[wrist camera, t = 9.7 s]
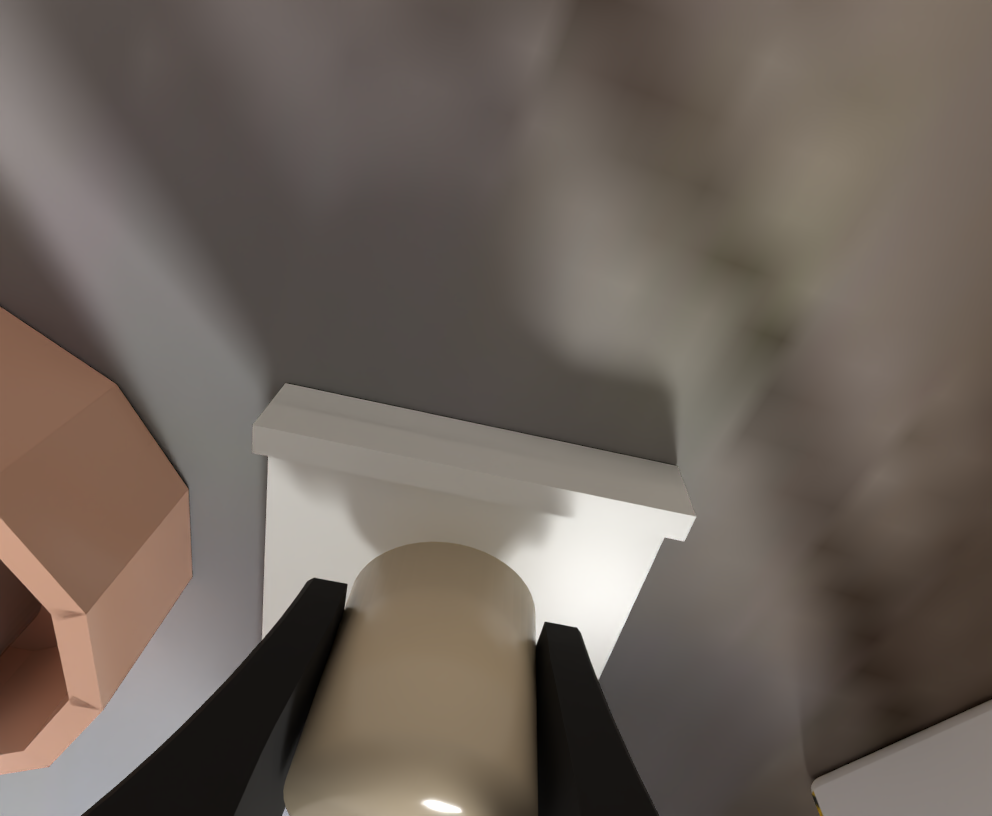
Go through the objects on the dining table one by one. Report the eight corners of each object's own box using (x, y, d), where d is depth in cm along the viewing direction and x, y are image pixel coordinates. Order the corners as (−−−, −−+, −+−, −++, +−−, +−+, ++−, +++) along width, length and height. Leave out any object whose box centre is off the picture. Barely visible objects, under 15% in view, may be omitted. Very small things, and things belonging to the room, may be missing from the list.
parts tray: (535, 788, 18) (535, 847, 17) (268, 740, 18) (245, 797, 16) (677, 466, 12) (696, 516, 11) (285, 382, 12) (252, 424, 10)
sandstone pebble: (512, 688, 13) (506, 891, 10) (341, 657, 12) (278, 854, 9) (556, 563, 11) (568, 761, 8) (359, 524, 11) (289, 711, 8)
